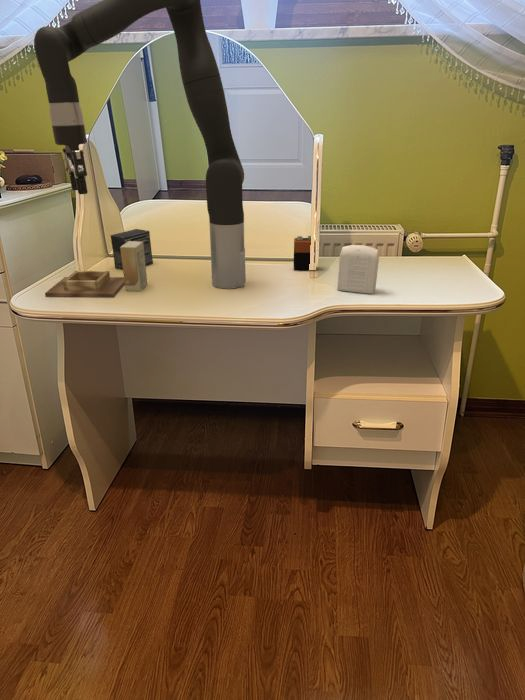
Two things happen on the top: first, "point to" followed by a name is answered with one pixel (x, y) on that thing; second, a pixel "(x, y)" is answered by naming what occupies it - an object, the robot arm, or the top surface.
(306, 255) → the battery
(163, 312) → the top surface
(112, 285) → the cosmetics stand
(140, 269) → the skincare box
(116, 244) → the small box
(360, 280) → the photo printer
